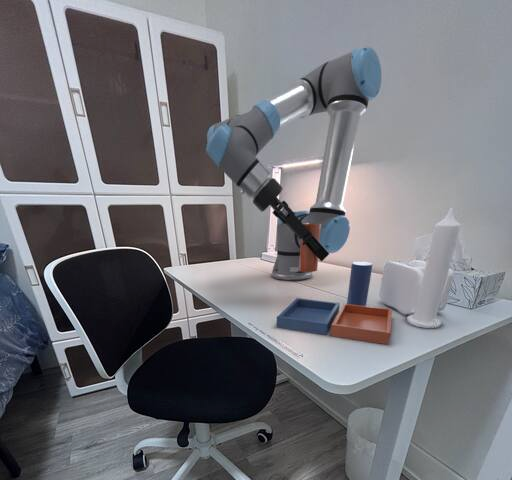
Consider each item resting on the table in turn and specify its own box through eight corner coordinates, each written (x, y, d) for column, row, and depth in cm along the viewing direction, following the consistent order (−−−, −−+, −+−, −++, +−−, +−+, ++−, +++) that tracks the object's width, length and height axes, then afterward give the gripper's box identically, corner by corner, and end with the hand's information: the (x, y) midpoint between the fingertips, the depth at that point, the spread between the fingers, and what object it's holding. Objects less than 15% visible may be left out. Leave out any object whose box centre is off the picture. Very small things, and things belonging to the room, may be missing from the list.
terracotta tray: (342, 312, 76) (343, 303, 75) (390, 318, 72) (392, 308, 70) (330, 335, 63) (331, 324, 62) (388, 344, 59) (390, 333, 58)
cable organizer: (375, 300, 85) (382, 259, 80) (408, 297, 87) (416, 258, 82) (408, 318, 72) (419, 271, 67) (446, 315, 73) (459, 268, 68)
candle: (419, 315, 73) (445, 206, 62) (446, 324, 68) (481, 206, 57) (400, 320, 70) (424, 207, 59) (427, 330, 65) (460, 207, 54)
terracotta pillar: (301, 267, 83) (304, 222, 78) (319, 268, 82) (322, 222, 76) (296, 271, 79) (298, 224, 74) (314, 272, 77) (318, 224, 72)
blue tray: (296, 307, 81) (296, 298, 79) (338, 312, 76) (339, 303, 75) (276, 327, 68) (276, 316, 67) (326, 335, 63) (327, 324, 62)
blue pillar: (347, 304, 82) (353, 261, 77) (366, 306, 80) (373, 262, 75) (345, 309, 78) (350, 264, 73) (364, 312, 76) (371, 265, 71)
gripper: (251, 200, 81) (306, 259, 88) (251, 200, 65) (319, 273, 72) (270, 178, 78) (325, 241, 86) (275, 172, 62) (343, 250, 70)
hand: (322, 255), depth 79 cm, fingers closed on terracotta pillar, 5 cm apart
